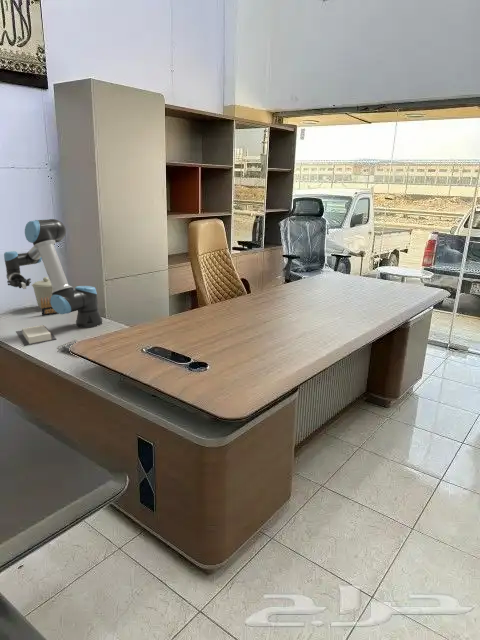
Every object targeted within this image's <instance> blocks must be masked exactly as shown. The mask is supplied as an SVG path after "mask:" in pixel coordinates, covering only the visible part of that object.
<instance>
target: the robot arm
mask: <svg viewBox="0 0 480 640" xmlns="http://www.w3.org/2000/svg"><path fill="white" fill-rule="evenodd" d="M66 233H67V230H66V226H65V225H64V223H62V222H61V221H60V220H59V219H56V218H55V219H54V218H50V219H34V220H29V221H27V223H26V225H25V227H24V236H25V239H26V241H27V242H28V243H31V244H33V246H32V247H31V248H30V249H29V250H28V252H23V253H22V252H21V253H18V251H15V250H10V251H5V252H4V253H3V257H4V259H3V260H4V263H5V269H6V270H5V271H6V279H7V282H6V283H7V286H10V287H14V288H19V289H23V290H27V287H29V286H30V284H31V283H32V279H31V278H25V277H24V276H23V275H22V274H21V268H20V267H23V266H29V265H37V264H40V263H41V262H42V263H43V266H44V268H45V271H46V273H47V277H48V278H49V280H50V282H51V285H52V287H53V291H52V296H51V298H50V300H51V301H50V303H51V306H52V308H53V310H55V311H56V312H57V313H59V314H58V315H66V314H70V313H74V312H77V315H76V320H75V323H76V324H75V325H76V327H78V328H86V329H87V328H94V326H95V327H98V326H97V325H99V326H100V324H101V325H103V323H102V322H103V318H102V316H101V313H100V311H99V304H98V303H99V302H98V293H97V289H96V287H95V286H92V285H79V286H78V285H77V286H75V288H74V287H73V286H72V285H70V284H69V282H68V279H67V277H66V274H65V272H64V268H63V266H62V263H61V260H60V258H59V255H58V252H57V249H56V247H55V245H56V244H57V243H60V242H61V241H63V239H64V238H65V237H66Z"/></svg>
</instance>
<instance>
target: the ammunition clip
mask: <svg viewBox="0 0 480 640" xmlns="http://www.w3.org/2000/svg"><path fill="white" fill-rule="evenodd" d="M50 298H51V296H50ZM50 301H51V300H50ZM40 310H41V316H42V317H45V316H51V315H53V316H54V315H60V314H59V313H57V312H56V311H55V310H54V309H53V308H52V306H51V303H49V299H48V297H47V303H46V299H45V297H44V304H43V300H42V297H41V308H40Z"/></svg>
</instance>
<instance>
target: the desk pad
mask: <svg viewBox="0 0 480 640" xmlns="http://www.w3.org/2000/svg"><path fill="white" fill-rule="evenodd" d="M46 329H47V330H48V331H49V332H50V333H51V338H52V339H51V340H47V341H41V342H36V343H31V344H29V342H28V341H27V340H26V338H25V337H24V335H23V331H22V329H21V330H17V331H15V334H16V335H17V336H18V338H19V340H21V342H22V343H23V346H24V347H25V346H31V345H35V344H37V345H38V344H40V343H42V344H43V343H47V342H51V341H52V342H53V341H57V338H56V337H55V335H54V334H53V333H52V332H51V331H50V330H49V329H48V328H47V327H46Z"/></svg>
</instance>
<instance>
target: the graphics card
mask: <svg viewBox="0 0 480 640" xmlns="http://www.w3.org/2000/svg"><path fill="white" fill-rule="evenodd" d="M76 342H77V340H76V339H74V340H72V341H68V342H66V343H63V344H60V345H58V346H57V347H56V352H57V353H59V352H65V351H66V353H70V352H69V348H70V346H71V345H73V344H74V343H76Z"/></svg>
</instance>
